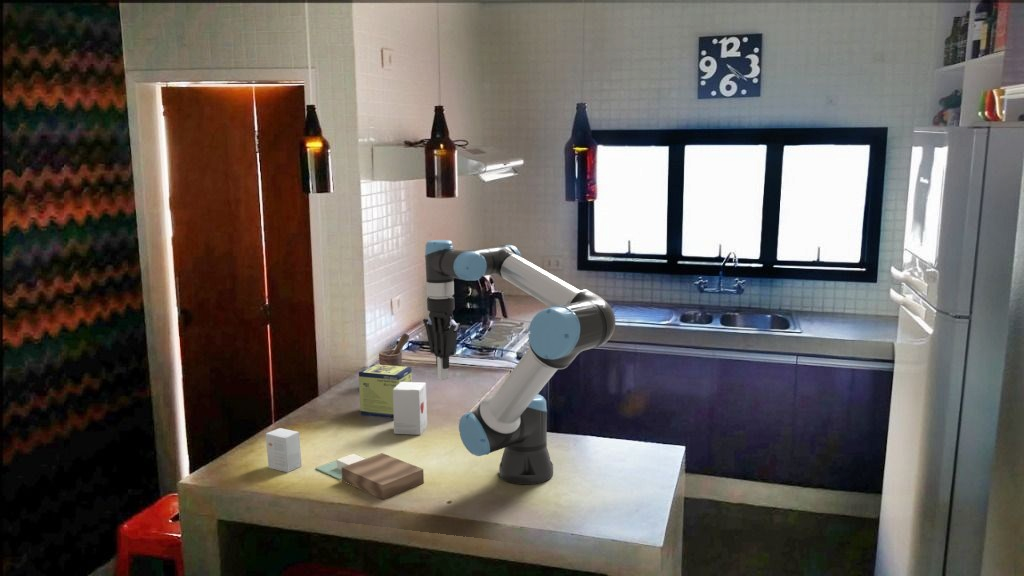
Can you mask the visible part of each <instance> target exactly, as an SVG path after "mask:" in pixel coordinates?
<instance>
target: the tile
mask: <svg viewBox="0 0 1024 576" xmlns="http://www.w3.org/2000/svg"><path fill="white" fill-rule="evenodd" d="M356 454H357V453H352V454H349V455H346V456H343V457H341V458H337V459H336V460H337V468H338V469H341V470H342V467H344V466H347V465H350V464H353V463H355V462H358V461H361V460H364V459H365V458H366V457H365V458H363V457H364V456H362V455H360V456H358V455H359V454H357V455H356ZM361 456H362V457H361Z"/></svg>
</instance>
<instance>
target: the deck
mask: <svg viewBox="0 0 1024 576" xmlns="http://www.w3.org/2000/svg"><path fill="white" fill-rule="evenodd" d="M341 481H342V482H343V481H344V483H345V482H347V483H346V484H348V483H349V484H348V485H350V484H351V485H350V486H352V485H353V486H352V487H354V486H355V488H356V487H357V489H359V490H361V489H362V490H361V491H363V492H365V491H366V492H365V493H368V494H370V495H372V496H374V497H377V498H379V499H381V500H386V499H388V498H390V497H392V496H395V495H397V494H400V493H403V492H405V491H408V490H411V489H413V488H415V487H417V486H420V485H422V484H424V483H425V480H424V468H421V467H420V466H419V467H418V466H416V465H413V464H411V463H410V462H407V461H404V460H402V459H398V458H396V457H394V456H391V455H388V454H385V453H384V452H381V453H379V454H376V455H373V456H370V457H367V459H364V460H361V461H358V462H355V463H353V464H350V465H347V466H344V467H342V480H341Z"/></svg>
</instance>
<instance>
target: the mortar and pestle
mask: <svg viewBox="0 0 1024 576" xmlns="http://www.w3.org/2000/svg"><path fill="white" fill-rule="evenodd" d="M409 339H410V334H408V333H406V332H404V333H403V334H402V335H401V337H400V338H399V340H398V343H397V344H396V346H395V349H385V350H380V351H379V352H378V357H379V358H378V359H379V362H378V363H379V365H389V366H402V364H403V361H402V360H403V359H402V356H403V355H402V354H403V352H402V351H401V350H402V349H403V347H404V346H405V345H406V344H407V342H408V341H409Z"/></svg>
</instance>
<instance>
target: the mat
mask: <svg viewBox="0 0 1024 576" xmlns="http://www.w3.org/2000/svg"><path fill="white" fill-rule="evenodd" d="M355 454H356V455H358V456H361V457H363V458H365V459H367V458H368V457H367V458H366V457H364V456H362V455H360V454H357V453H355ZM315 470H316V471H319V472H321V473H323V472H324V473H323V474H325V473H326V475H328V476H330V475H331V476H330V477H333V478H334V477H335V478H334V479H337V480H339V479H340V480H339V481H342V480H341V479H342V470H341V469H338V468H337V459H336V460H333V461H331V462H329V463H326V464H322V465H319V466H316V467H315Z"/></svg>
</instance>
